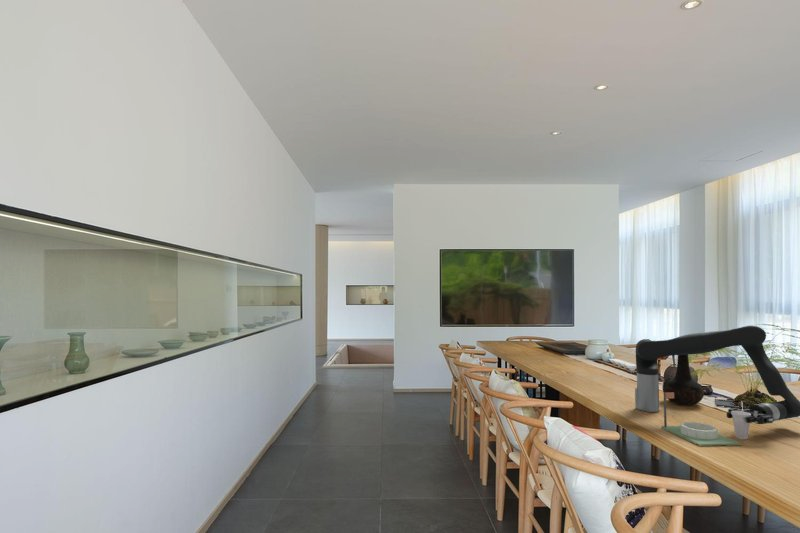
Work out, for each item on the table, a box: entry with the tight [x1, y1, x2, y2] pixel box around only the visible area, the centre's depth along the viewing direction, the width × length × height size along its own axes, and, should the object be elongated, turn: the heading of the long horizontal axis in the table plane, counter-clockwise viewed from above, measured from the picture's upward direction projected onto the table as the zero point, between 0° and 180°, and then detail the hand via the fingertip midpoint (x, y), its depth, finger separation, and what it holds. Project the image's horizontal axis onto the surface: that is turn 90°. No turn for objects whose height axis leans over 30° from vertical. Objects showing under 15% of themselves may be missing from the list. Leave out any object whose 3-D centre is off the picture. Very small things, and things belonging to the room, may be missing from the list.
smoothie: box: [731, 400, 751, 440], centre depth 180 cm, size 6×6×14 cm
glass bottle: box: [662, 355, 705, 407], centre depth 233 cm, size 18×18×28 cm
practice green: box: [661, 392, 742, 446], centre depth 182 cm, size 22×16×15 cm
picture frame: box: [714, 398, 740, 409], centre depth 228 cm, size 13×2×18 cm
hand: (737, 417), depth 179 cm, fingers closed on smoothie, 6 cm apart
